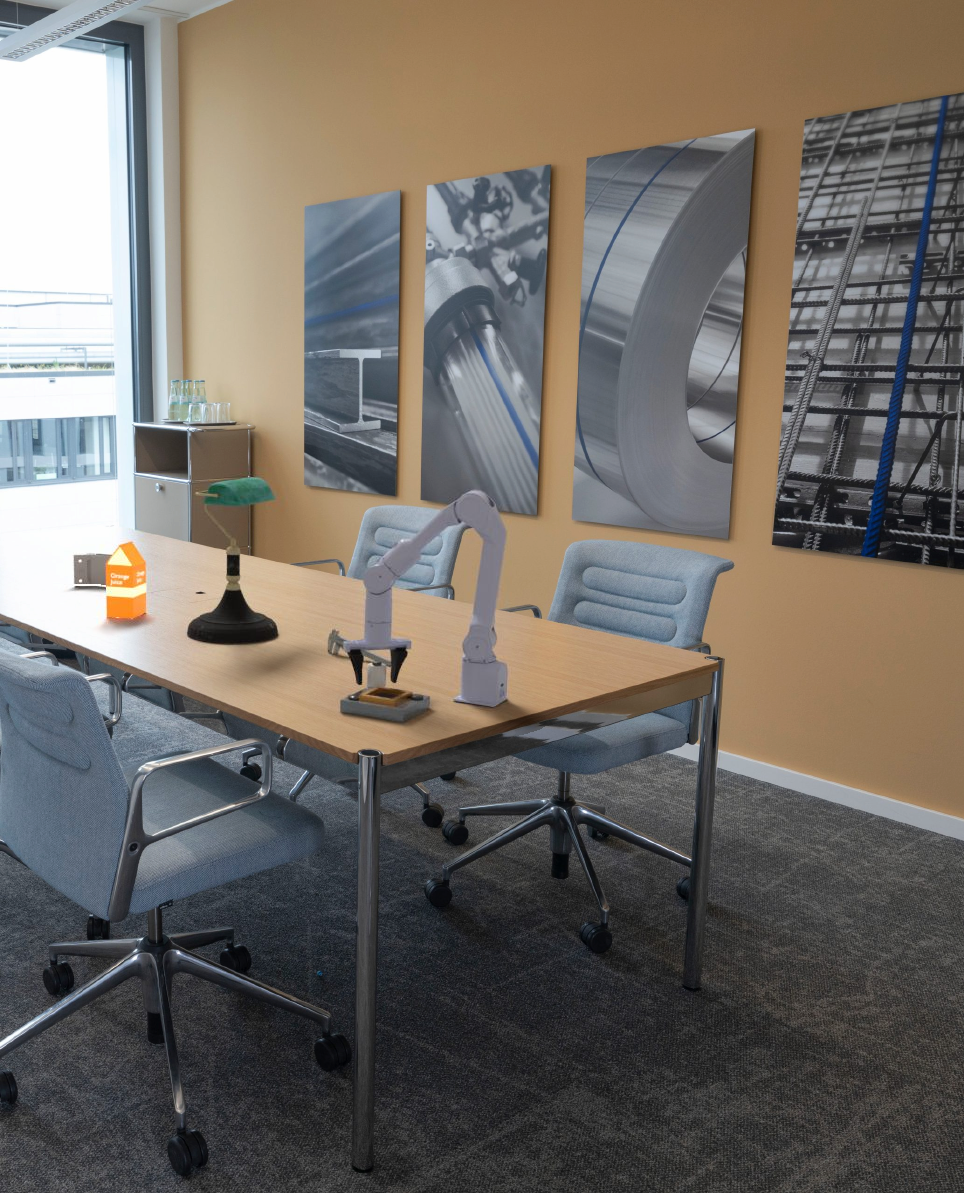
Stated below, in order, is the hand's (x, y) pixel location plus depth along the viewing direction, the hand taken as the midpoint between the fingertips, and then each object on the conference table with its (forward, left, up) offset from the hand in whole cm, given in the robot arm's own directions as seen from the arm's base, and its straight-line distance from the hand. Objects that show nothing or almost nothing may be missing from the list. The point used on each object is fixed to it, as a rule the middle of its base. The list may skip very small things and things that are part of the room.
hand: (376, 682), depth 233 cm
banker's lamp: (+58, -30, -2) cm, 65 cm away
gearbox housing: (-8, +11, -2) cm, 14 cm away
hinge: (+131, -62, -2) cm, 145 cm away
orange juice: (+95, -33, -2) cm, 101 cm away
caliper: (+17, -24, -2) cm, 30 cm away
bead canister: (0, 0, -2) cm, 2 cm away
